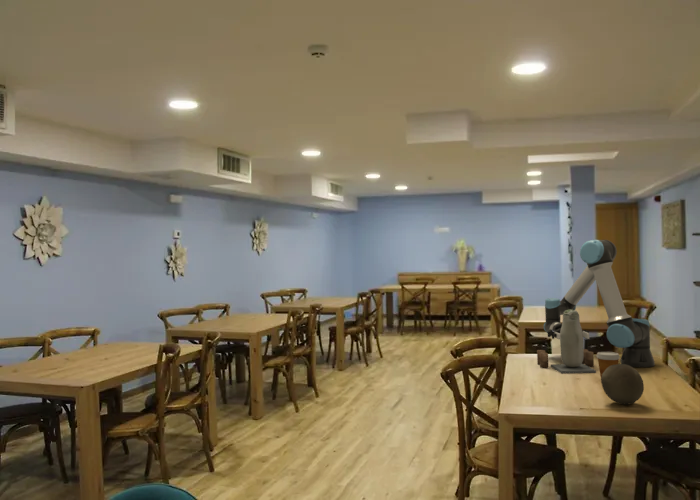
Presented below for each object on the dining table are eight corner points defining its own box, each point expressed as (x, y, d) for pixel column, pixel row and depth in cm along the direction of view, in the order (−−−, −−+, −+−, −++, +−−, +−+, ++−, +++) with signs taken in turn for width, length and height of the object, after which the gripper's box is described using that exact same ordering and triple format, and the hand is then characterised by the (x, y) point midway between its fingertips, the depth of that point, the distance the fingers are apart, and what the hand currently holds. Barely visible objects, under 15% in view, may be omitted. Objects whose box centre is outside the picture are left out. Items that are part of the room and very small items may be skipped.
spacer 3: (589, 363, 292) (589, 349, 292) (585, 364, 290) (585, 350, 290) (582, 362, 295) (581, 348, 295) (578, 363, 293) (578, 349, 293)
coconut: (608, 398, 224) (607, 359, 224) (648, 403, 215) (646, 363, 215) (597, 406, 213) (596, 365, 213) (638, 411, 204) (637, 369, 204)
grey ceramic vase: (557, 366, 280) (554, 309, 281) (572, 364, 285) (570, 307, 285) (572, 370, 271) (570, 311, 272) (588, 367, 276) (586, 309, 276)
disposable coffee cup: (623, 383, 248) (622, 355, 248) (599, 382, 250) (598, 355, 250) (617, 378, 257) (616, 351, 257) (594, 378, 259) (594, 351, 259)
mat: (583, 366, 286) (583, 363, 286) (595, 372, 270) (595, 370, 270) (550, 366, 286) (550, 364, 286) (561, 373, 270) (561, 371, 270)
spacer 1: (547, 364, 293) (546, 350, 293) (543, 365, 290) (542, 351, 290) (540, 363, 296) (539, 349, 296) (535, 364, 293) (535, 350, 294)
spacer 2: (550, 367, 285) (549, 353, 285) (545, 368, 283) (545, 354, 283) (542, 366, 288) (542, 352, 288) (538, 367, 286) (538, 353, 286)
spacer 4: (595, 366, 285) (594, 351, 285) (591, 367, 283) (590, 353, 283) (587, 365, 288) (587, 351, 288) (583, 366, 286) (583, 352, 286)
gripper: (583, 337, 296) (600, 343, 274) (535, 338, 296) (548, 344, 275) (583, 322, 296) (600, 327, 275) (534, 323, 297) (547, 329, 275)
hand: (574, 336), depth 275 cm, fingers open, 13 cm apart
